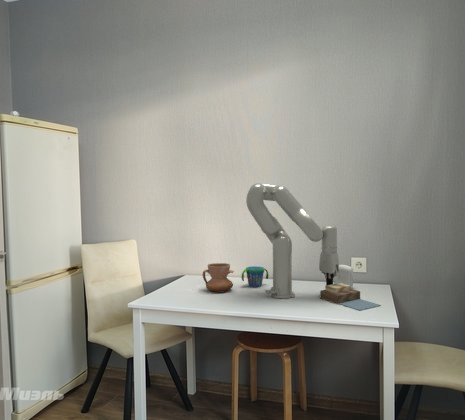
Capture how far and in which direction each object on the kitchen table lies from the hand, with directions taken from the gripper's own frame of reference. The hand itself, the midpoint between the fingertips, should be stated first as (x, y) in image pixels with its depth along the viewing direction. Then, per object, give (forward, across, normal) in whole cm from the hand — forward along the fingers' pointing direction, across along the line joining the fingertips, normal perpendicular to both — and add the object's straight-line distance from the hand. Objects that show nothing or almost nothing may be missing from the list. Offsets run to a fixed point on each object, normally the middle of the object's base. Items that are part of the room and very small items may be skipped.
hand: (329, 285), depth 220 cm
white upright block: (+5, -8, +18) cm, 21 cm away
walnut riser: (+5, +8, 0) cm, 9 cm away
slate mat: (+5, +20, 0) cm, 21 cm away
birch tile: (0, +6, 0) cm, 6 cm away
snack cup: (+5, -39, -19) cm, 44 cm away
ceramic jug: (+5, -42, -41) cm, 59 cm away
